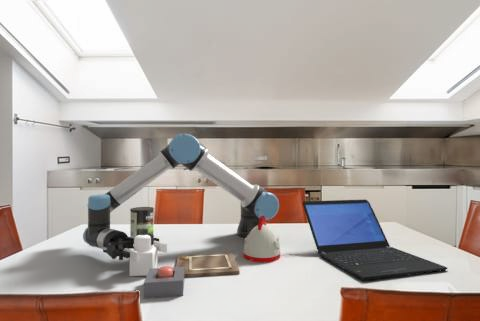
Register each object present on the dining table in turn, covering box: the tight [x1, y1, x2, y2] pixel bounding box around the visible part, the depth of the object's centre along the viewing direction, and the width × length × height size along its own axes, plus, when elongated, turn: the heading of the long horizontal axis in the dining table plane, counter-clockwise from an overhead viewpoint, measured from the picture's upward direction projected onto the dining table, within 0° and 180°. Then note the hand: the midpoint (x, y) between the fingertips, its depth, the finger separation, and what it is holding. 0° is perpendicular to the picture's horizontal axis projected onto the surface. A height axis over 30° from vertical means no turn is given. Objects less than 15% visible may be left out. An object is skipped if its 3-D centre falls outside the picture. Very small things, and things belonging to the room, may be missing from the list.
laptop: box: [301, 199, 448, 282], centre depth 105 cm, size 33×38×19 cm
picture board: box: [175, 252, 240, 278], centre depth 97 cm, size 20×18×1 cm
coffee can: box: [129, 206, 155, 238], centre depth 131 cm, size 10×10×14 cm
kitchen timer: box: [242, 216, 281, 263], centre depth 107 cm, size 14×14×15 cm
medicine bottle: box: [128, 233, 158, 277], centre depth 90 cm, size 7×7×12 cm
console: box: [143, 266, 185, 299], centre depth 79 cm, size 10×10×4 cm
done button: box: [158, 265, 173, 278], centre depth 79 cm, size 4×4×3 cm
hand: (152, 252), depth 88 cm, fingers closed on medicine bottle, 10 cm apart
